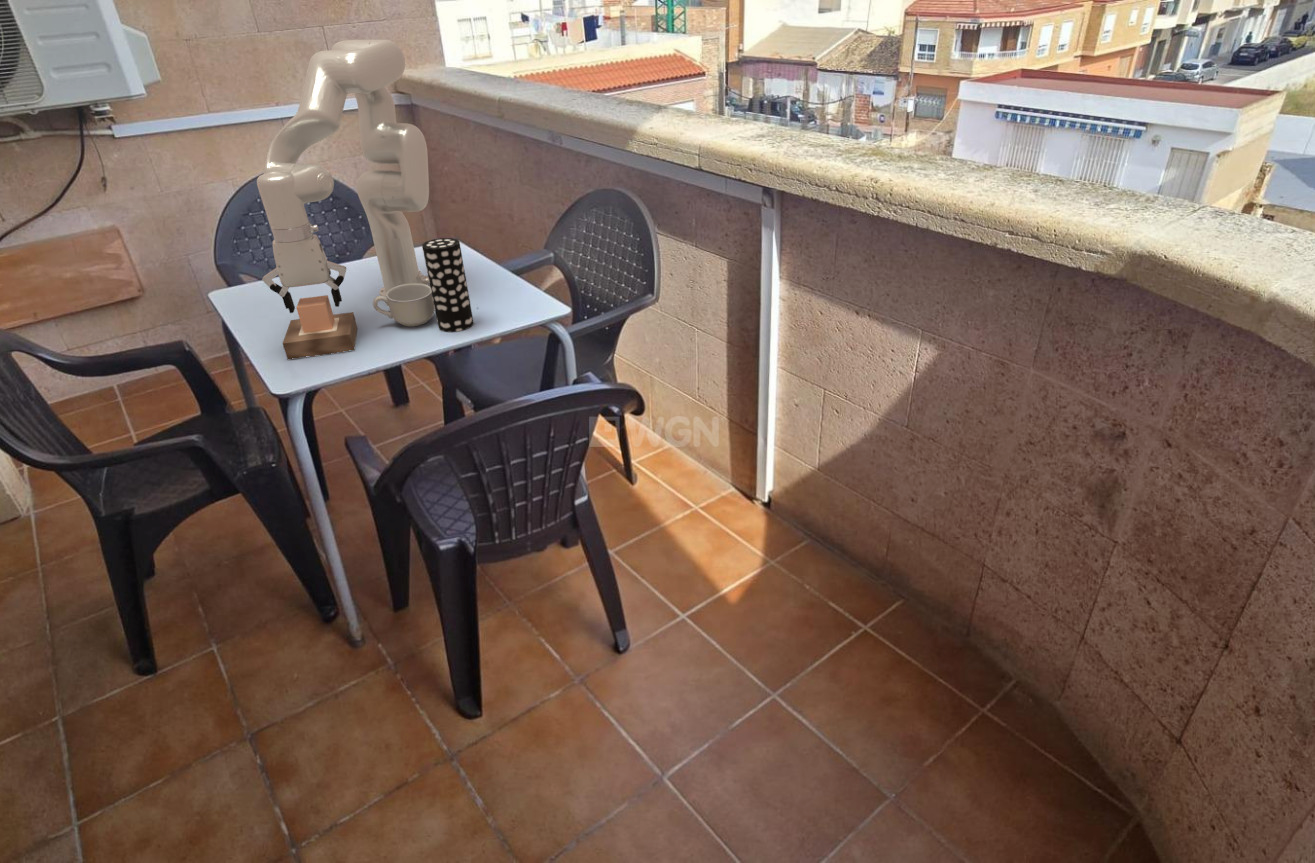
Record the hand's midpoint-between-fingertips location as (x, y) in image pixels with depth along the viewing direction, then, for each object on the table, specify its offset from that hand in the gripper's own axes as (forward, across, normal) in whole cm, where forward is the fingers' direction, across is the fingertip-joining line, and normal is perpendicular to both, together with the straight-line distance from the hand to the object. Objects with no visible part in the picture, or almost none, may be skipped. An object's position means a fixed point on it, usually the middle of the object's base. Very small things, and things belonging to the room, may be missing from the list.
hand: (315, 307), depth 165 cm
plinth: (+8, 0, 0) cm, 9 cm away
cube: (+4, 0, 0) cm, 4 cm away
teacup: (+9, -19, -6) cm, 22 cm away
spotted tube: (+9, -30, 0) cm, 31 cm away
